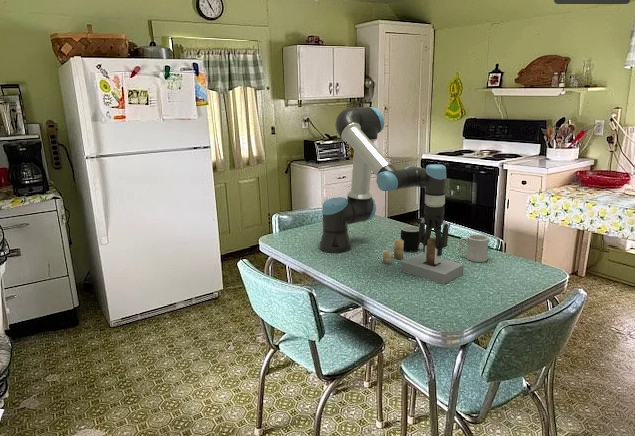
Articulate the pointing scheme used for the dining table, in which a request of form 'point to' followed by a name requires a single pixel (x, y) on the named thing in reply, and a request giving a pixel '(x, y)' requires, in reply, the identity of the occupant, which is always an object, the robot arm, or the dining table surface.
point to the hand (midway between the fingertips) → (432, 261)
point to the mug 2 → (476, 247)
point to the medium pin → (398, 248)
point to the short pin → (387, 257)
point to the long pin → (431, 251)
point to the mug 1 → (410, 238)
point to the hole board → (432, 269)
